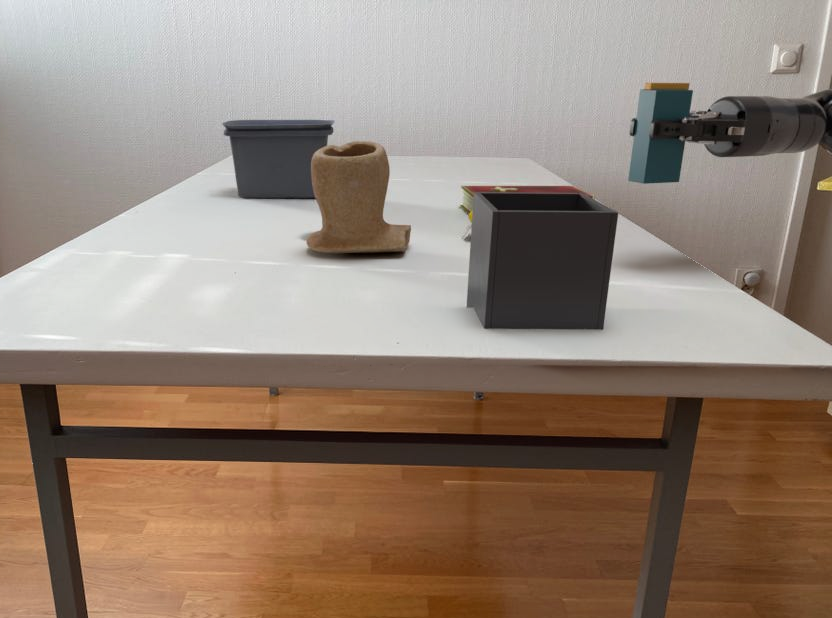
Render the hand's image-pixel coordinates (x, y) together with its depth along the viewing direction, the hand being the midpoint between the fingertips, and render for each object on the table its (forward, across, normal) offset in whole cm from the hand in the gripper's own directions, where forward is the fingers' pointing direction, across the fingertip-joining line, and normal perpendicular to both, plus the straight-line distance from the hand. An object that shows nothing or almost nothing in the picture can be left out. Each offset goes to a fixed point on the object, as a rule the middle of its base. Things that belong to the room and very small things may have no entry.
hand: (642, 128), depth 95 cm
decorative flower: (+5, -24, +18) cm, 31 cm away
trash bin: (+25, +17, +18) cm, 35 cm away
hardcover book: (-10, -40, +18) cm, 45 cm away
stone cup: (+29, -19, +18) cm, 39 cm away
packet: (-3, 0, +6) cm, 7 cm away
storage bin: (+26, -73, +18) cm, 79 cm away
